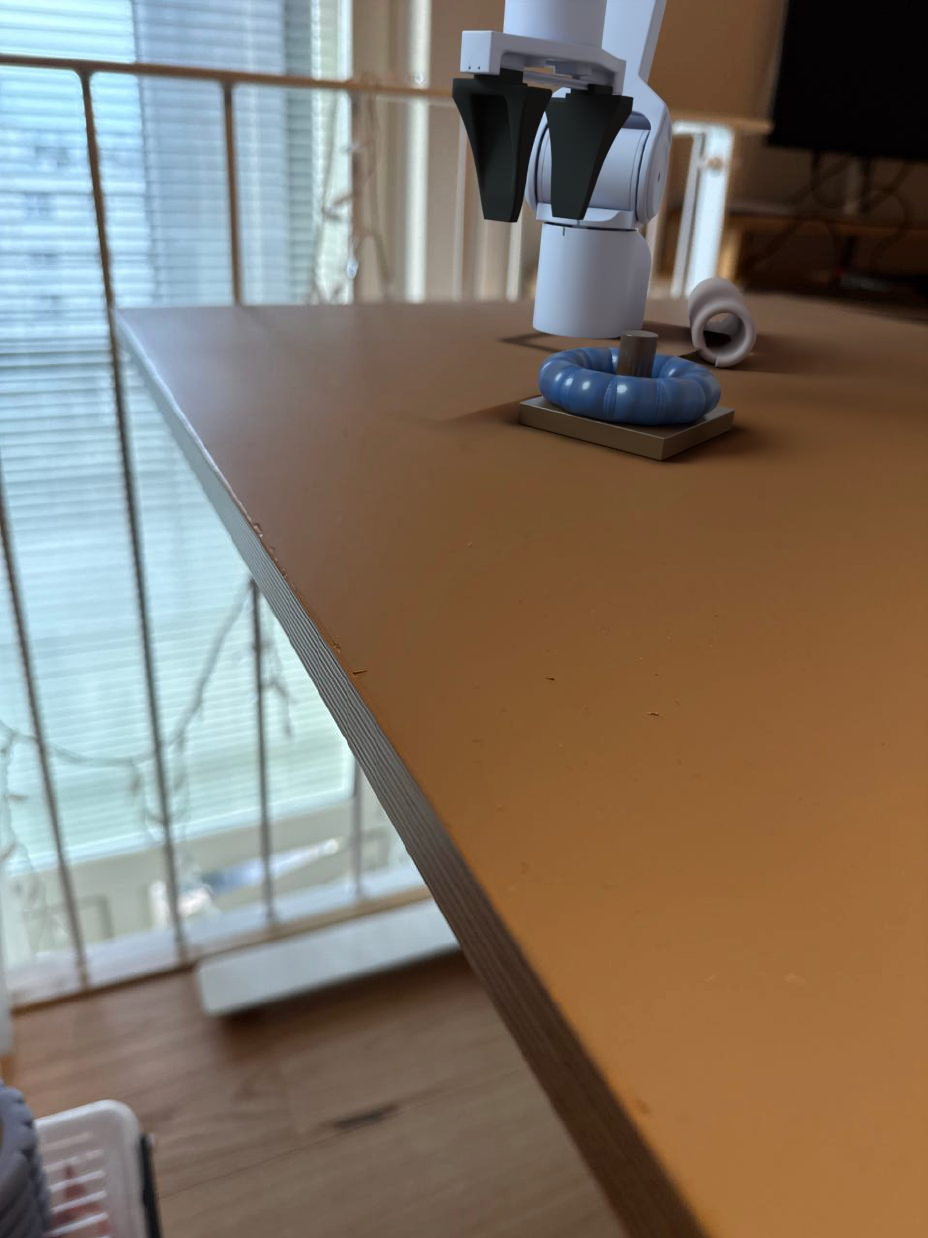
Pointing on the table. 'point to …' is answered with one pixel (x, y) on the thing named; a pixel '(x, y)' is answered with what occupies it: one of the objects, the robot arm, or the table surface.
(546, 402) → the peg stand
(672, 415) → the blue segmented ring
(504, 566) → the table surface
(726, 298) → the coil
